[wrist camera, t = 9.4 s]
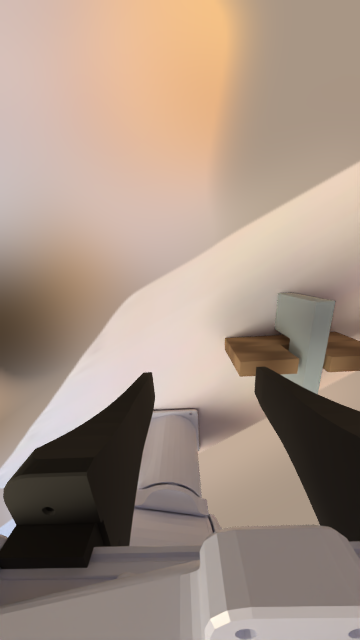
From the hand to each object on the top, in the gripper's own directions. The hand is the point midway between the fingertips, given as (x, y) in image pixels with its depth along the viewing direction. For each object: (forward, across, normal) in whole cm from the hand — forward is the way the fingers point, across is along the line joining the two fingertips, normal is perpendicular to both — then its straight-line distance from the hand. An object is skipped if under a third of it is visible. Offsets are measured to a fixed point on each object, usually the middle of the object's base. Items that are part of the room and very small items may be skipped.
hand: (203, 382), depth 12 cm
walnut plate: (+10, -11, +2) cm, 15 cm away
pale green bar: (+10, -11, +2) cm, 15 cm away
